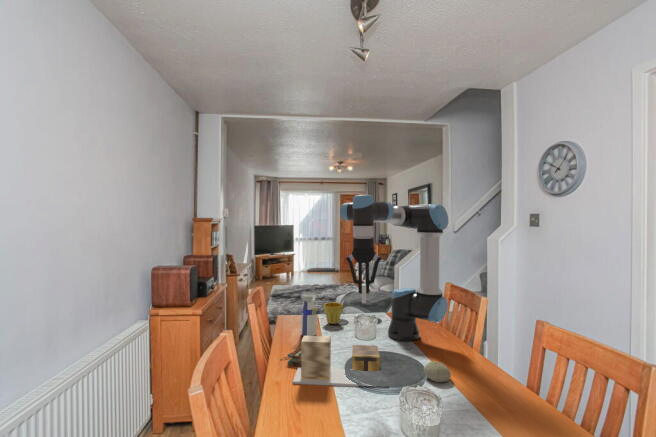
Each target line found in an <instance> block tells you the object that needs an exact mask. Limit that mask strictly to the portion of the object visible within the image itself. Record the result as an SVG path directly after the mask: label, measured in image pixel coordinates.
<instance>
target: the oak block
mask: <svg viewBox="0 0 656 437" xmlns="http://www.w3.org/2000/svg"><path fill="white" fill-rule="evenodd" d="M331 338H332V337H331V336H329V335H328V336H325V335H314V336H303V337H302V339H301V342H300V344H301V345H300V347H301V378H306V379H329V378H330V372H331V369H332V366H331V365H332V364H331V360H332V358H331V356H332V355H331V354H332V353H331V350H332V349H331V348H332V345H331V344H332V342H331V341H332V339H331Z"/></svg>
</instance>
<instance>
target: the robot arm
mask: <svg viewBox="0 0 656 437" xmlns="http://www.w3.org/2000/svg"><path fill="white" fill-rule="evenodd" d="M339 215H340V218H341V219H342V220H344V221H348V222H352V236H353V237H354V238H352V251H351V254H350V255H347V256H346V257H345V259H346V261H347V263H348V265H349V267H350V268H349V269H350V273H351V276H352V277H351V278H352V280H353V283H354V284H357V286H358V294H360V295H361V304H367V294H370V285H371V284H374V283H375V281H376V275H377V271H378V267H379V263H380V262H381V260H382V257H381V256H379V255H378V254H376V252H375V247H374V246H375V239H374V238H373V237H374V236H375V230H374V229H375V228H374V227H375V226H374V225H375V224H374V223H381V224H382V223H383V224H391V225H393V226H396V227H403V228H408V229H413V230H415V229H416V234H418V236H419V237H420V238H419V239H420V240H419V241H420V244H419V245H420V246H419V248H420V250H419V257H420V258H419V288H417V289H416V288H414V287H405V288H404V287H403V288H402V287H401V288H397V289H393V290H392V291H391V297H390V299H391V320H390V323H389V326H388V330H387V336H388V337H389V338H390V339H391V338H392V339H393V340H397V341H404V342H413V341H417V340H419V338H420V330H419V328H418V324H417V322H416V321H417V319H420V320H423V321H424V320H425V321H428V322H432V323H439V322H442V320H444V318H445V316H446V314H447V312H448V306H449V302H448V299H447V298H446V297H445V296H444V295H443V291H442V290H441V289H440V237H441V236H442V235H443V234H444V230H446V229H447V228H448V224H449V216H448V212H447V210H446V208H445V206H443V205H442V204H439V203H427V204H424V203H423V204H408V205H394V206H393V204H392V203H391V202H389V201H385V200H381V201H378V200H377V201H375V199H374V196H373V195H372V194H371V195H370V194H357V195H356V194H355V195H354V196H353V198H352V202H350V201H349V202H345V203H342V204H341V206H340V208H339ZM373 259H374V262H373V268H372V272H371V276H370V263H371V261H373ZM354 260H355V261H356V263H358V264H357V265H358V266H357V268H358V269H357V270H358V271H357V272H358V273H357V274H358V275H356V272H355V267H354V264H353V261H354ZM363 264H365V265H364V266H365V269H364V271H365V273H364V274H365V283H363ZM357 276H358V277H357ZM357 278H358V279H357Z"/></svg>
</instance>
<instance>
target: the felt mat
mask: <svg viewBox="0 0 656 437" xmlns="http://www.w3.org/2000/svg"><path fill="white" fill-rule="evenodd" d="M292 384H293V385H313V386H315V385H316V386H337V387H359V386H358V385H357V384H356V383H354V382H352V381H351V380H349V379H348V378H347V377H346V375H345V368H331V372H330V378H329V379H306V378H301V367H298V368H297V369H296V372H295V374H294V377H293V380H292Z"/></svg>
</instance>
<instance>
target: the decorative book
mask: <svg viewBox="0 0 656 437" xmlns="http://www.w3.org/2000/svg"><path fill="white" fill-rule="evenodd" d="M284 359H285V361H287V364H288V365H294V366H296V368H297V369H298V367H301V346H298V347H297V348H296V349H294V351H293V352H289V353H288V354H287V357H286V356H284V357H282V358H281V359H279V361H284Z"/></svg>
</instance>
